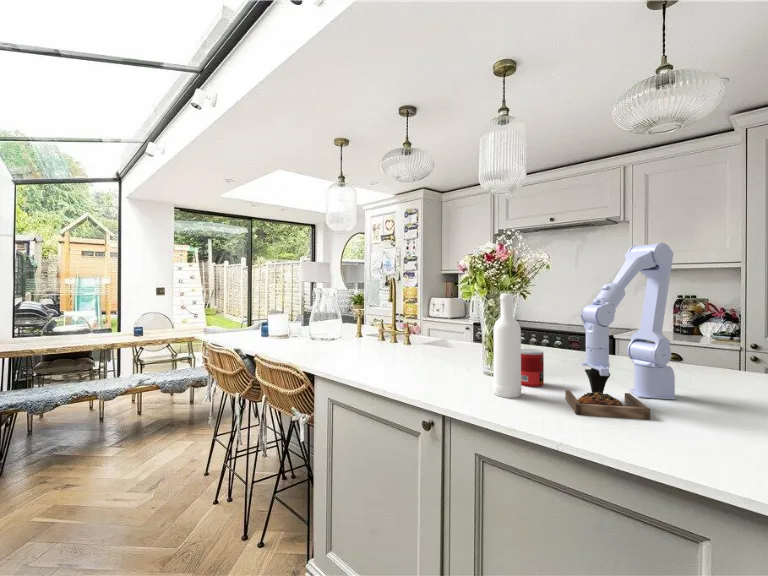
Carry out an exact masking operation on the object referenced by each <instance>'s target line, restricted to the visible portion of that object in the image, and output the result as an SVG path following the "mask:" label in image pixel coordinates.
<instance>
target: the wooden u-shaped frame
mask: <svg viewBox="0 0 768 576" xmlns="http://www.w3.org/2000/svg"><path fill="white" fill-rule="evenodd" d="M564 397H565V398H564V399H565V401H566V402H567V403H568V405H569V407H570V408H571V409H572V410H574V411H573V412H574V413H575V415H577V416H578V415H579V416H593V417H603V418H604V417H605V418H606V417H607V418H619V419H620V418H622V419H635V420H637V419H639V420H648V421H649V420H651V408H649V407H648V406H646V405H645V404H644V403H643V402H641V400H639V399H638V398H636V397H635V396H633V394H631V392H630V393H628V392H625V393H624V403H625V404H626V403H627V404H628V405H627V404H626V405H627V406H626V405H623V406H611V405H595V404H580V403H579V401H578V399H577V397H576V395H574V393H572V391H571V390H570V389H564Z"/></svg>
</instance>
